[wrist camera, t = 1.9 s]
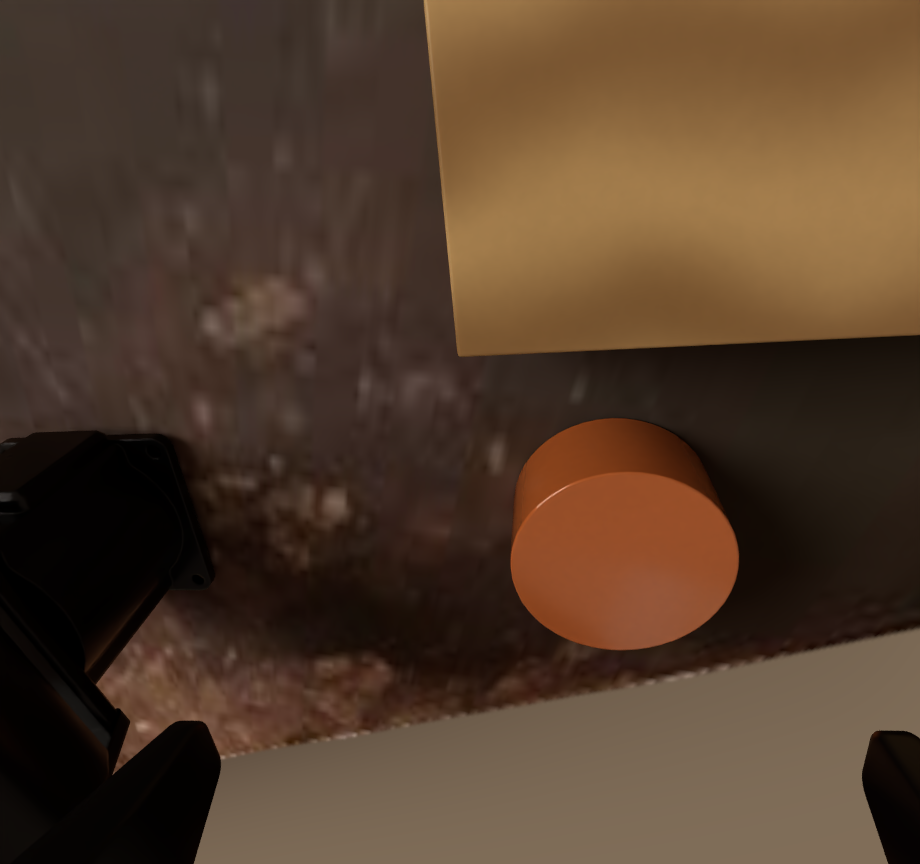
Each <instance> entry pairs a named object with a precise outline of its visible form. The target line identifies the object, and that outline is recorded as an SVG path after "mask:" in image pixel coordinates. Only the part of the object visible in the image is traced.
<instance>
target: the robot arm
mask: <svg viewBox="0 0 920 864" xmlns="http://www.w3.org/2000/svg"><path fill="white" fill-rule="evenodd" d="M153 446H156V447H157V448H159V450H160V452H161V453H159V452H157V451H156V450H155V449H154V448H153ZM198 575H200V576H201V577H203V578H201V577H199V576H198ZM214 579H215V572H214V569H213V566H212V563H211V559H210V556H209V553H208V550H207V547H206V544H205V541H204V538H203V535H202V532H201V529H200V526H199V523H198V520H197V517H196V514H195V511H194V508H193V505H192V502H191V499H190V496H189V493H188V490H187V486H186V483H185V480H184V477H183V474H182V471H181V468H180V465H179V462H178V459H177V456H176V453H175V450H174V447H173V445H172V443H171V441H170V440H169V439H168V438H167V437H165V436H163V435H161V434H125V435H105V434H104V433H102V432H99V431H68V432H39V433H33V434H31V435H29V436H28V437H26V438H10V439H7V440H5V441H4V442H2V443H0V864H194V861H195V857H196V854H197V850H198V847H199V843H200V840H201V837H202V833H203V830H204V827H205V823H206V820H207V816H208V813H209V809H210V806H211V802H212V799H213V796H214V793H215V789H216V786H217V782H218V779H219V775H220V770H221V760H220V755H219V753H218V750H217V748H216V746H215V743H214V741H213V739H212V736H211V734H210V732H209V729H208V727H207V725H206V724H205V723H203V722H202V721H177V722H175V723H173V724H172V725H170V726H169V727H168V728H166V729H165V730H164V731H163V732H162V733H161V734H160V735H158V736H157V737H156V738H155V739H154V740H153V741H151V742H150V743H149V744H148V745H147V746H146V747H144V748H143V749H142V750H141V751H140V752H139V753H138V754H136V755H135V756H134V757H133V758H132V759H131V760H129V761H128V762H127V763H126V764H125V765H124V766H122V767H121V768H120V769H119V770H118V771H117V772H115V773H114V774H113V771H114V768H115V765H116V763H117V760H118V757H119V754H120V751H121V748H122V745H123V742H124V739H125V736H126V733H127V730H128V727H129V724H130V720H129V719H128V718H127V717H126V716H125V714H124V713H123V712H122V711H121V710H120V709H119V708H117V709H115V708H114V706H113V705H112V704H111V703H110V702H109V700H108V699H107V698H106V697H105V696H104V694H103V693H102V692H101V691H100V689H99V688H98V687H97V686H96V684H97V682H98V681H99V680H100V678H101V677H102V676H103V674H104V673H105V672H106V670H107V669H108V668H109V667H110V665H111V664H112V663H113V661H114V660H115V659H116V657H117V656H118V655H119V654H120V652H121V651H122V650H123V648H124V647H125V646H126V644H127V643H128V642H129V641H130V639H131V638H132V637H133V635H134V634H135V633H136V631H137V630H138V629H139V628H140V626H141V625H142V624H143V622H144V621H145V620H146V618H147V617H148V616H149V615H150V613H151V612H152V611H153V609H154V608H155V607H156V605H157V604H158V603H159V601H160V600H161V599H162V598H163V596H164V595H165V594H166V592H167V591H168V590H205V589H207V588H209V586H210V585H211V584H212V582H213V581H214ZM112 774H113V775H112ZM862 781H863V788H864V792H865V795H866V798H867V801H868V804H869V807H870V810H871V813H872V816H873V819H874V822H875V825H876V828H877V831H878V834H879V837H880V840H881V843H882V846H883V849H884V852H885V855H886V858H887V861H888V864H920V738H919V737H917V736H916V735H914V734H912V733H910V732H907V731H876V732H874V733H873V734H872V736H871V738H870V742H869V747H868V751H867V755H866V759H865V763H864V767H863V771H862Z"/></svg>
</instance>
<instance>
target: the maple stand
mask: <svg viewBox="0 0 920 864" xmlns="http://www.w3.org/2000/svg"><path fill="white" fill-rule="evenodd" d="M424 10H425V21H426V31H427V41H428V52H429V62H430V73H431V83H432V93H433V104H434V114H435V125H436V135H437V146H438V156H439V166H440V177H441V187H442V198H443V208H444V218H445V229H446V239H447V250H448V260H449V270H450V281H451V291H452V302H453V312H454V323H455V333H456V343H457V353H458V355H459V356H460V357H469V356H490V355H511V354H532V353H553V352H574V351H595V350H616V349H637V348H658V347H679V346H700V345H721V344H742V343H764V342H785V341H806V340H827V339H848V338H869V337H890V336H911V335H920V0H424Z"/></svg>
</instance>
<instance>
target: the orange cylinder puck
mask: <svg viewBox="0 0 920 864" xmlns="http://www.w3.org/2000/svg"><path fill="white" fill-rule="evenodd" d="M510 568H511V575H512V580H513V583H514V586H515V589H516V591H517V593H518V595H519V597H520V599H521V601H522V602H523V604H524V605H525V607H526V608H527V610H528V611H529V612H530V613H531V614H532V615H533V616H534V617H535V618H536V619H537V620H538V621H539V622H540V623H541V624H543V625H544V626H545V627H546V628H548V629H550V630H551V631H553V632H554V633H556V634H558V635H560V636H562V637H564V638H566V639H568V640H570V641H573V642H576V643H578V644H582V645H585V646H589V647H594V648H600V649H606V650H637V649H645V648H650V647H655V646H659V645H663V644H666V643H669V642H672V641H674V640H677V639H679V638H681V637H683V636H686V635H687V634H689V633H691V632H692V631H694V630H696V629H698V628H699V627H700V626H702V625H703V624H704V623H706V622H707V621H708V620H709V619H710V618H711V617H712V616H713V615H714V614H715V613H717V612H718V610H719V609H720V608H721V607H722V605H723V604H724V603H725V601H726V600H727V598H728V596H729V595H730V593H731V591H732V588H733V586H734V583H735V581H736V577H737V573H738V568H739V549H738V542H737V539H736V536H735V532H734V530H733V528H732V526H731V523H730V521H729V519H728V517H727V515H726V513H725V511H724V508H723V506H722V504H721V502H720V500H719V498H718V495H717V493H716V491H715V489H714V487H713V485H712V483H711V480H710V478H709V476H708V474H707V472H706V470H705V468H704V466H703V464H702V462H701V460H700V459H699V457H698V456H697V455H696V453H695V452H694V451H693V450H692V449H691V448H690V447H689V446H688V445H687V444H686V443H685V442H684V441H683V440H681V439H680V438H679V437H677V436H676V435H674V434H673V433H671V432H669V431H667V430H666V429H663V428H661V427H659V426H656V425H654V424H650V423H647V422H643V421H639V420H633V419H626V418H608V419H598V420H593V421H588V422H584V423H581V424H578V425H575V426H572V427H570V428H568V429H566V430H564V431H561V432H560V433H558V434H556V435H555V436H553V437H552V438H550V439H549V440H547V441H546V442H545V443H544V444H543V445H541V446H540V447H539V448H538V449H537V450H536V451H535V452H534V453H533V454H532V456H531V457H530V458H529V460H528V461H527V463H526V464H525V465H524V467H523V469H522V471H521V473H520V475H519V478H518V481H517V484H516V489H515V494H514V508H513V525H512V541H511V562H510Z"/></svg>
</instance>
